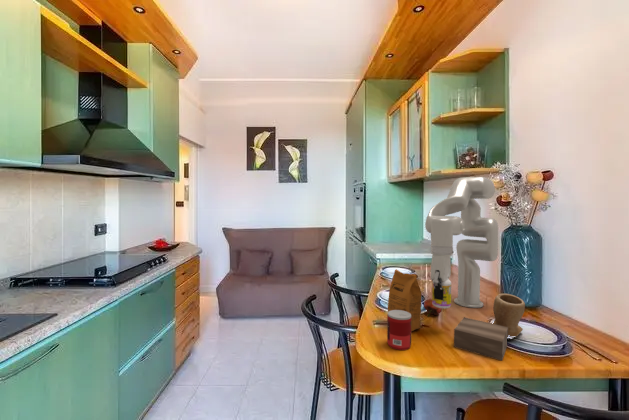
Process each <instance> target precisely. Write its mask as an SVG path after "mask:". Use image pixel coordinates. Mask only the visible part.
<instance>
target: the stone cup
mask: <svg viewBox="0 0 629 420" xmlns="http://www.w3.org/2000/svg"><path fill="white" fill-rule="evenodd" d="M493 301H494V302H493V305H492V306H493V309H492V310H493V315H494V320H493V321H494V323H493V324H496V325H501V326H505V327H508V335H510V336H517V337H518V336H519V335H520V333H522V331H523V330H524V329H523V328H522V326H520V325H519V323H520V321H521V319H522V317H523V315H524V314H525V307H526V303H525V300H523V299H522V298H520V297H518V296H517V295H514V294H510V293H499V294H497V295H496V296H495V298H494V299H493Z"/></svg>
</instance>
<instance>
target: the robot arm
mask: <svg viewBox="0 0 629 420" xmlns="http://www.w3.org/2000/svg"><path fill="white" fill-rule="evenodd" d="M495 186H496V185H495V184H494V182H493V181H492V180H491V179H489V178H487V177H485V176H470V177H469V176H468V177H466V176H465V177H459V178H456V179H455V180H454V181H453V183H452V184H451V187H450V189H449V192H448V195H447V197H446V198H444V199H443V200H441V201H439V202H437V203H436V204H435V205H433V206H432V207H431V208H430V210H429V212H428V214H427V217H426V219H425V224H424V227H425V230H426V232H428V233H429V234H430V236H431V237H430V240H431V241H430V243H431V245H430V246H431V247H430V254H431V255H432V256H431V264H430V280H431V281H433V280H434V281H433V282H434V299H438V300H443V289H442V288H443V282H444V281H446V280H447V275H448V274H449V277H448V279H449V280H450V277H451V273H452V272H451V270H452V264H451V263H452V262H451V259H452V258H451V256H453V255H454V253H453V252H454V249H453V248H454V245H453V244H454V241H453V240H454V239H453V238H454V237H453V236H459V235H461V234H462V236H466V237H469V238H470V237H472V238H484V239H486V240H481V239H469V238H466V239H460V240H458V242H457V243H456V247H455V248H456V254H457V265H458V267H457V268H458V269H457V297H456V298H454V299H453V302H454V303H455V305H456V304H457V305H458V306H461V307H464V308H471V309H480V308H483V307H484V302H482V301H481V300H480V297H481V295H480V294H481V293H480V292H481V267H480V266H479V264H478V263H477V261H483V262H495V261H496V260H497V259H498V254H499V223H498V221H497V220H496V219H495V218H492V217H481V211H482V210H481V209H482V208H481V205H480V204H479V203H478V201H477V199H478V200H482V199H483V200H485V199H486V200H487V199H488V200H489V199H491V198H493V196H494V195H495V192H496V187H495ZM455 213H456V214H457V213H460V216H454V215H453V216H452V214H455ZM449 215H451V216H449ZM439 279H441V281H440V280H439ZM438 282H439V283H438ZM440 283H441V285H440Z"/></svg>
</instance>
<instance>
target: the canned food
mask: <svg viewBox="0 0 629 420" xmlns="http://www.w3.org/2000/svg"><path fill="white" fill-rule="evenodd" d="M386 319H387V321H386V322H387V323H386V324H387V327H386V330H387V331H386V335H387V341H386V342H387V344H388V347H390V348H391V349H393V350H398V351H407V350H409V349H410V348H411V346H412V331H411V314H410V313H409V312H406V311H402V310H391V311H389V312H388V311H387V318H386Z"/></svg>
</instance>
